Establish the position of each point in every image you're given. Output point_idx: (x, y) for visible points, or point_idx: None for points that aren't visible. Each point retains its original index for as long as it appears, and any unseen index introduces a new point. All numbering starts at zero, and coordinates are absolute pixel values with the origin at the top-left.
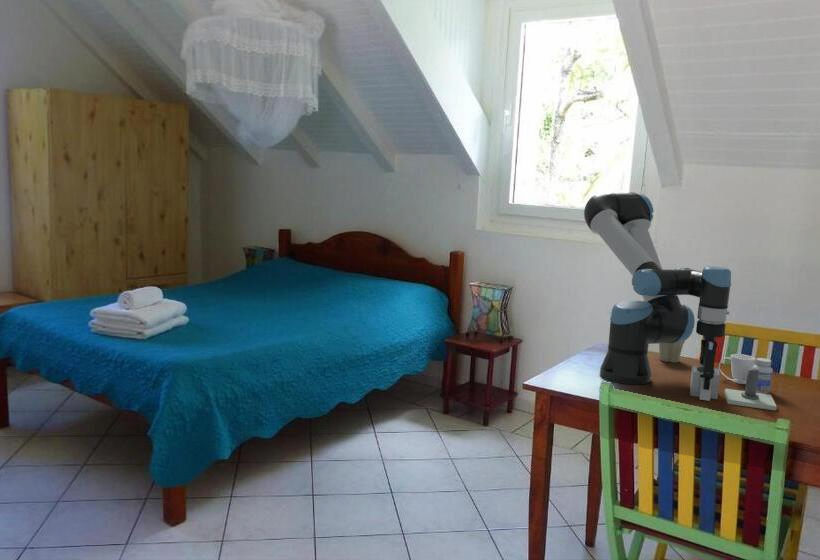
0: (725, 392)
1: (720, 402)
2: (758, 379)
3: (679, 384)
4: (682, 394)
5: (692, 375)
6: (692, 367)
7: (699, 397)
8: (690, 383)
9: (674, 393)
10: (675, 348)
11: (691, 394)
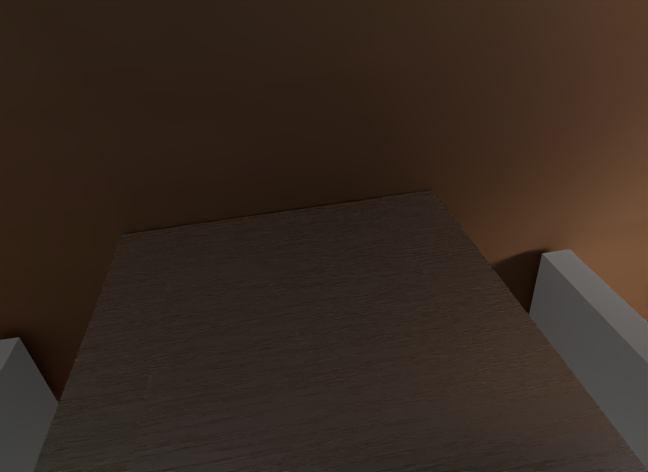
0: None
1: None
2: None
3: (582, 47)
4: (85, 139)
5: (161, 450)
6: None
7: (9, 349)
8: (434, 233)
9: (33, 19)
10: None
11: (121, 250)
